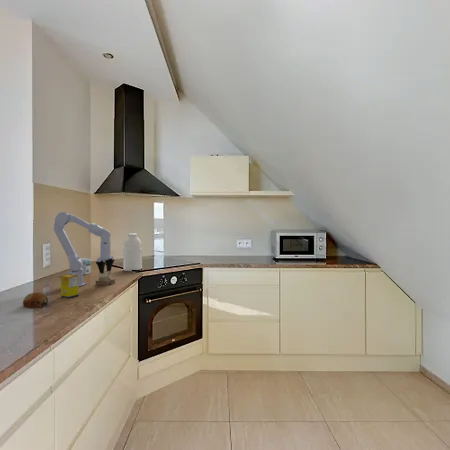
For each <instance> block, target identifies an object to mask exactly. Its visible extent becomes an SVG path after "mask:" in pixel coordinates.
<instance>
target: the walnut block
mask: <svg viewBox="0 0 450 450" xmlns="http://www.w3.org/2000/svg"><path fill="white" fill-rule="evenodd" d="M114 284H116V279H115V278H111V279H110V280H108V281H99V279H97V280H95V286H105V287H108V286H111V285H114Z"/></svg>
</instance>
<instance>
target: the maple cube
mask: <svg viewBox="0 0 450 450" xmlns="http://www.w3.org/2000/svg"><path fill="white" fill-rule="evenodd" d="M110 279H112V271H107V270H104V273H100V272H99V271H98V280H99V281H108V280H110Z"/></svg>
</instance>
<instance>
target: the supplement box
mask: <svg viewBox="0 0 450 450" xmlns="http://www.w3.org/2000/svg"><path fill="white" fill-rule="evenodd" d="M60 291H61V292H60V294H61V295H60V297H61V298H64V297H65V299H71V298H74V297H79V287H78V275H74V274H69V275H66V274H65V275H60Z"/></svg>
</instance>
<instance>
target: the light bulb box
mask: <svg viewBox="0 0 450 450" xmlns="http://www.w3.org/2000/svg"><path fill="white" fill-rule="evenodd" d="M79 258H80V257H79ZM80 259H81V260H82V261H83V265H82V269H83V275H89V274H91V273H92V272H91V271H92V262H91V261H92V259H91V258H85V257H83V258H80Z"/></svg>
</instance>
